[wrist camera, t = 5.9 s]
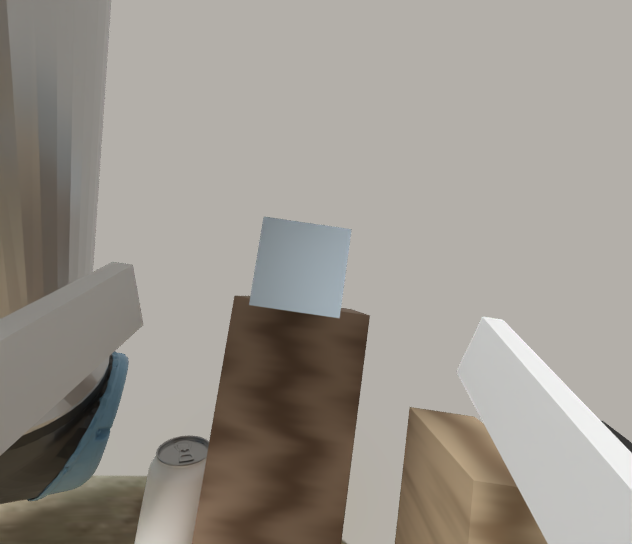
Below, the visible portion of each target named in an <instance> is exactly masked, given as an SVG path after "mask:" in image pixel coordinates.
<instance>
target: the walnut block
mask: <svg viewBox="0 0 632 544" xmlns="http://www.w3.org/2000/svg"><path fill="white" fill-rule="evenodd" d="M249 302H250V296H235V297H234V303H233V308H232V314H231V320H230V325H229V331H228V337H227V343H226V348H225V355H224V361H223V366H222V372H221V377H220V383H219V389H218V395H217V401H216V406H215V412H214V418H213V424H212V429H211V435H210V441H209V447H208V452H207V458H206V464H205V470H204V475H203V481H202V487H201V493H200V499H199V504H198V510H197V516H196V522H195V527H194V533H193V539H192V544H341V540H342V532H343V524H344V516H345V507H346V499H347V492H348V484H349V475H350V468H351V460H352V452H353V445H354V437H355V429H356V421H357V413H358V405H359V397H360V389H361V381H362V373H363V365H364V357H365V349H366V341H367V333H368V325H369V317H370V316H369V315H366V314H364V313H360V312H357V311H355V310H351V309H346V308H341V311H340V318H334V317H327V316H321V315H314V314H307V313H300V312H293V311H287V310H280V309H273V308H266V307H259V306H253V305H249Z"/></svg>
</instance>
